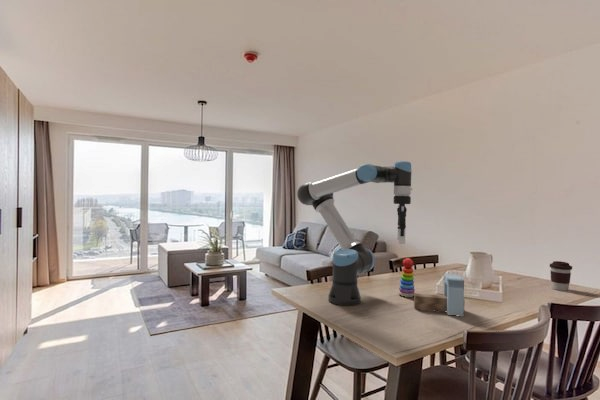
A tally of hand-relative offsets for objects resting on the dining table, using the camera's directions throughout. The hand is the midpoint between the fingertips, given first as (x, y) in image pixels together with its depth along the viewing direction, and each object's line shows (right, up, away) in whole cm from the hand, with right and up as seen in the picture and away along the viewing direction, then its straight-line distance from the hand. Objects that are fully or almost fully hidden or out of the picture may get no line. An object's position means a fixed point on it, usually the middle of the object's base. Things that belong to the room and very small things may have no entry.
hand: (401, 241), depth 157 cm
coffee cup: (+97, -30, +31) cm, 106 cm away
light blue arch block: (+20, -29, -9) cm, 36 cm away
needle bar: (+14, -29, -7) cm, 33 cm away
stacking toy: (+7, -29, +14) cm, 33 cm away
